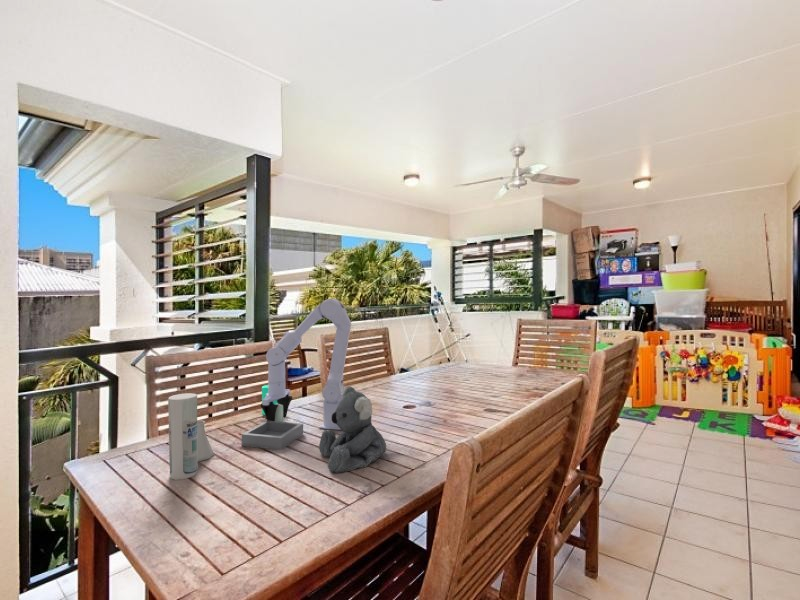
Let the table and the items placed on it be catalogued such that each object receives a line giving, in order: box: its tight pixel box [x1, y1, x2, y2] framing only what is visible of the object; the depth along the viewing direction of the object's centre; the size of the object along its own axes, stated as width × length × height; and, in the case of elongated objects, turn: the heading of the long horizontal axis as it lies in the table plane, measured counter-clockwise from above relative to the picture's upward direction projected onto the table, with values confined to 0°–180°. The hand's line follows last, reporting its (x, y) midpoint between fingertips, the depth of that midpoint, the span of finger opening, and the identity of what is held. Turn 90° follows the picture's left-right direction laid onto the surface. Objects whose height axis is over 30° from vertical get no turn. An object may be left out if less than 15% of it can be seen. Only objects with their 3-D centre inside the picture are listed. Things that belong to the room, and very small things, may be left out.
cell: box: [275, 404, 284, 422], centre depth 140 cm, size 4×4×8 cm
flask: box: [197, 420, 215, 462], centre depth 113 cm, size 7×7×10 cm
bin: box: [241, 420, 304, 451], centre depth 127 cm, size 13×13×4 cm
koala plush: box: [318, 385, 387, 473], centre depth 112 cm, size 17×18×20 cm
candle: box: [261, 384, 278, 416], centre depth 155 cm, size 6×6×12 cm
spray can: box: [167, 392, 199, 481], centre depth 103 cm, size 6×6×20 cm
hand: (277, 420), depth 140 cm, fingers open, 7 cm apart
